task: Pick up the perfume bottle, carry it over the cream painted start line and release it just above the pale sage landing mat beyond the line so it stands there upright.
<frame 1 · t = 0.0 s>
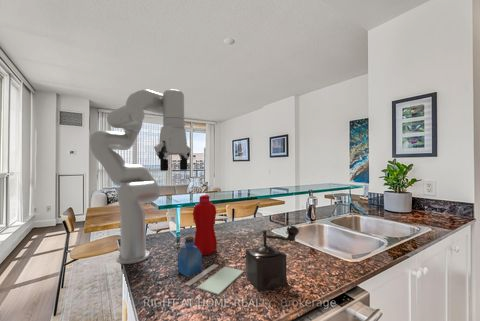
hand: (174, 170, 84), 37 cm above the worktop, tool pointing down, fingers open, 9 cm apart
pepper mill: (272, 280, 75), on the worktop
start line: (203, 274, 80), on the worktop
water bottle: (203, 251, 101), on the worktop
landing mat: (222, 279, 76), on the worktop
perfume bottle: (189, 271, 82), on the worktop
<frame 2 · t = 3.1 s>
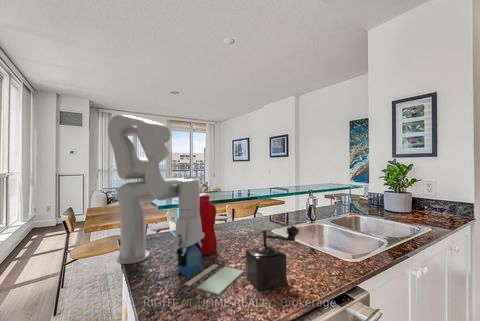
hand: (189, 261, 82), 3 cm above the worktop, tool pointing down, fingers closed on perfume bottle, 7 cm apart
perfume bottle: (190, 271, 82), on the worktop, touching gripper
everything else where it was.
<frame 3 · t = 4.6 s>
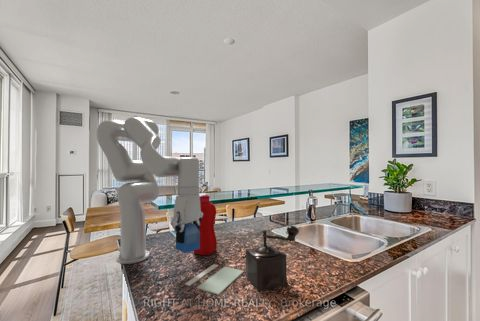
hand: (187, 238, 83), 11 cm above the worktop, tool pointing down, fingers closed on perfume bottle, 7 cm apart
perfume bottle: (187, 248, 83), point 8 cm above the worktop, touching gripper
everything else where it was.
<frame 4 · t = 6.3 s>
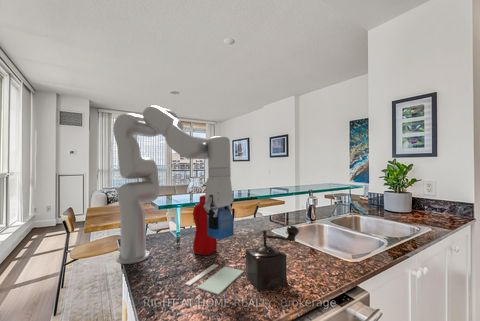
hand: (220, 225, 76), 18 cm above the worktop, tool pointing down, fingers closed on perfume bottle, 7 cm apart
perfume bottle: (220, 236, 76), point 14 cm above the worktop, touching gripper
everything else where it was.
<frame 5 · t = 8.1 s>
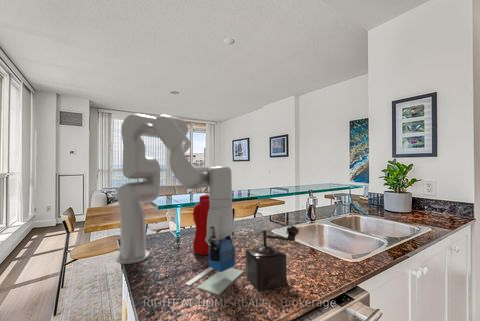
hand: (221, 255, 76), 8 cm above the worktop, tool pointing down, fingers closed on perfume bottle, 7 cm apart
perfume bottle: (222, 266, 76), point 4 cm above the worktop, touching gripper
everything else where it was.
when the fingers open (5 cm above the worktop, at t = 9.7 s): perfume bottle drops 1 cm, resting on landing mat.
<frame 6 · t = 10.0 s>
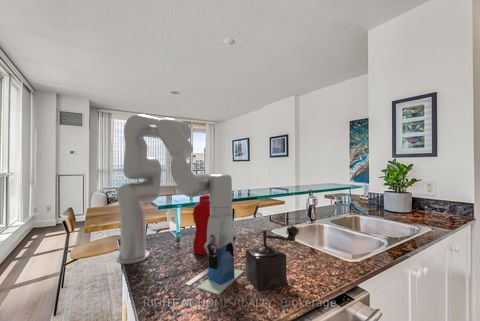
hand: (221, 262, 76), 6 cm above the worktop, tool pointing down, fingers open, 9 cm apart
perfume bottle: (221, 278, 76), resting on landing mat
everything else where it was.
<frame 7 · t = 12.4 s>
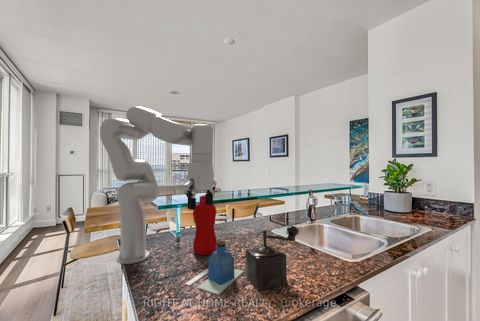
hand: (200, 206, 81), 23 cm above the worktop, tool pointing down, fingers open, 9 cm apart
nothing on the worktop moved.
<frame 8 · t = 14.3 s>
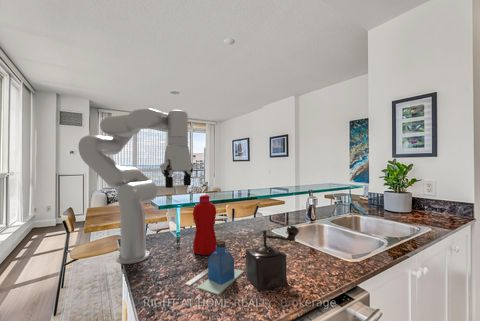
hand: (178, 186, 88), 30 cm above the worktop, tool pointing down, fingers open, 9 cm apart
nothing on the worktop moved.
at the end: perfume bottle inside the target area (0.3 cm from its centre), resting on landing mat; perfume bottle tilted 0°; the gripper is holding nothing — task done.
